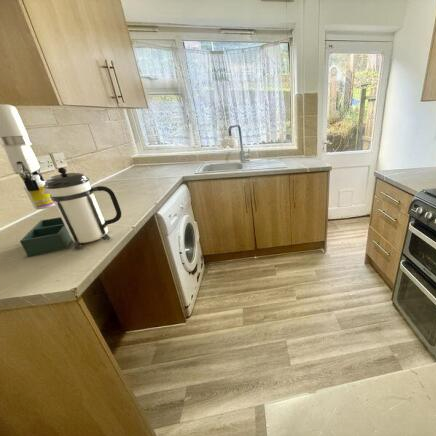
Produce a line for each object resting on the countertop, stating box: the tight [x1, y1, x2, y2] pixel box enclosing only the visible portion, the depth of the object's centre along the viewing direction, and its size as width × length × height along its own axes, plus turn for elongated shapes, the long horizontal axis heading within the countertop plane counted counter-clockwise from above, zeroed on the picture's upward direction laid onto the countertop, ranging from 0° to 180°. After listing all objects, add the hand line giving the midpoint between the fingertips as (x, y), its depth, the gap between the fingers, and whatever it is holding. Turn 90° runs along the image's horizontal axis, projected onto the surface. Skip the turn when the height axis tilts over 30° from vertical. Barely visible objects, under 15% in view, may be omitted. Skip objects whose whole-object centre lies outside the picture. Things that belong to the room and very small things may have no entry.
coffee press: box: [42, 167, 122, 250], centre depth 95 cm, size 17×16×30 cm
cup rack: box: [19, 216, 72, 257], centre depth 100 cm, size 11×21×6 cm, turn 29°
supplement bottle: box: [23, 175, 56, 210], centre depth 97 cm, size 7×7×13 cm
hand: (37, 187), depth 97 cm, fingers closed on supplement bottle, 6 cm apart
